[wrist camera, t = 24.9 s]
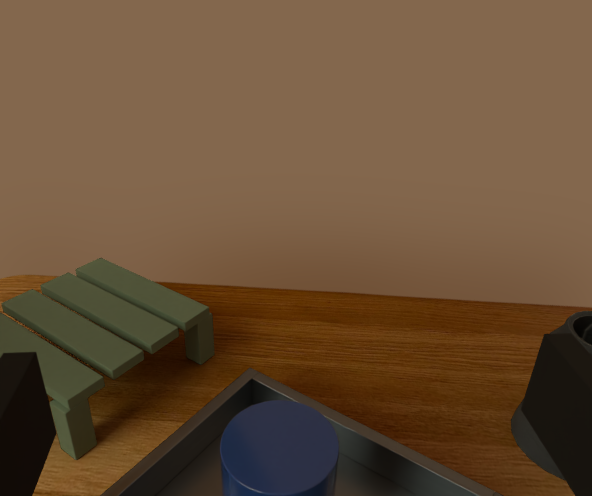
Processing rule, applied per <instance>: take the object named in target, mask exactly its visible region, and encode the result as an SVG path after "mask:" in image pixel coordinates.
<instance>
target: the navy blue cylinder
mask: <svg viewBox="0 0 592 496" xmlns="http://www.w3.org/2000/svg"><path fill="white" fill-rule="evenodd" d="M338 458H339V441H338V437H337V434H336V432H335V429H334V428H333V426H332V424H331V423H330V422H329V421H328V419H327V418H326V417H324V416H323V415H322V414H321V413H320V412H318V411H317V410H315V409H313V408H312V407H309V406H307V405H305V404H302V403H298V402H294V401H287V400H272V401H266V402H261V403H258V404H255V405H252V406H250V407H248V408H246V409H244V410H243V411H241V412H240V413H238V414H237V415H236V416H235V417H234V418H233V419H232V420H231V421H230V422H229V424H228V425H227V426H226V428H225V430H224V432H223V435H222V437H221V442H220V462H221V480H222V496H335V489H336V479H337V468H338Z"/></svg>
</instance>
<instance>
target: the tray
mask: <svg viewBox="0 0 592 496" xmlns="http://www.w3.org/2000/svg"><path fill="white" fill-rule="evenodd" d="M272 400H287V401H294V402H298V403H302V404H305V405H307V406H309V407H312V408H313V409H315V410H317V411H318V412H320V413H321V414H322V415H323V416H324V417H326V418H327V419H328V421H329V422H330V423H331V424H332V426H333V428H334V429H335V432H336V434H337V437H338V441H339V458H338V468H337V479H336V489H335V496H503V495H501V494H499V493H497V492H495V493H494V491H493V490H491V489H489V488H487V487H485V486H483V485H481V484H479V483H477V482H475V481H473V480H471V479H470V478H468V477H466V476H464V475H462V474H460V473H458V472H456V471H454V470H452V469H450V468H448V467H446V466H444V465H442V464H440V463H438V462H436V461H434V460H432V459H430V458H428V457H426V456H424V455H422V454H420V453H418V452H416V451H414V450H412V449H410V448H408V447H406V446H404V445H402V444H400V443H398V442H396V441H394V440H392V439H390V438H388V437H386V436H384V435H382V434H380V433H379V432H377V431H375V430H373V429H371V428H369V427H367V426H365V425H363V424H361V423H359V422H357V421H355V420H353V419H351V418H349V417H347V416H345V415H343V414H341V413H339V412H337V411H335V410H333V409H331V408H329V407H327V406H325V405H323V404H321V403H319V402H317V401H315V400H313V399H311V398H309V397H307V396H305V395H303V394H301V393H299V392H297V391H295V390H293V389H291V388H289V387H288V386H286V385H284V384H282V383H280V382H278V381H276V380H274V379H272V378H270V377H268V376H266V375H264V374H262V373H260V372H258V371H256V370H254V369H252V368H249V369H248V370H247V371H245V372H244V373H243V374H242V375H241V376H240V377H238V378H237V379H236V380H235V381H234V382H233V383H231V384H230V385H229V386H228V387H227V388H225V389H224V390H223V391H222V392H221V393H220V394H218V395H217V396H216V397H215V398H214V399H213V400H211V401H210V402H209V403H208V404H207V405H206V406H204V407H203V408H202V409H201V410H200V411H199V412H197V413H196V414H195V415H194V416H193V417H192V418H190V419H189V420H188V421H187V422H186V423H185V424H183V425H182V426H181V427H180V428H179V429H178V430H176V431H175V432H174V433H173V434H172V435H171V436H169V437H168V438H167V439H166V440H165V441H163V442H162V443H161V444H160V445H159V446H158V447H156V448H155V449H154V450H153V451H152V452H151V453H149V454H148V455H147V456H146V457H145V458H144V459H142V460H141V461H140V462H139V463H138V464H137V465H135V466H134V467H133V468H132V469H131V470H130V471H128V472H127V473H126V474H125V475H124V476H123V477H121V478H120V479H119V480H118V481H117V482H116V483H114V484H113V485H112V486H111V487H110V488H108V489H107V490H106V491H105V492H104V493H103V494H101V495H100V496H222V480H221V462H220V442H221V437H222V435H223V432H224V430H225V428H226V426H227V425H228V424H229V422H230V421H231V420H232V419H233V418H234V417H235V416H236V415H237V414H238V413H240V412H241V411H243V410H244V409H246V408H248V407H250V406H252V405H255V404H258V403H261V402H266V401H272Z"/></svg>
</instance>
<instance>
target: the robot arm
mask: <svg viewBox="0 0 592 496" xmlns="http://www.w3.org/2000/svg"><path fill="white" fill-rule="evenodd" d="M521 411H522V412H523V414H524V415H525V417H526V419H527V420H528V422H529V423H530V425H531V426H532V428H533V430H534V431H535V433H536V434H537V436H538V437H539V439H540V441H541V442H542V444H543V445H544V447H545V448H546V450H547V452H548V453H549V455H550V456H551V458H552V459H553V461H554V463H555V464H556V466H557V467H558V469H559V470H560V472H561V474H562V475H563V477H564V478H565V480H566V481H567V483H568V485H569V486H570V488H571V489H572V491H573V492H574V494H575V496H592V355H591V354H590V353H589V352H588V351H587V350H586V349H585V348H584V347H583V345H582V344H581V343H580V342H579V341H578V340H577V339H576V338H575V337H574V336H573V334H572V333H558V334H544V337H543V340H542V343H541V347H540V350H539V353H538V356H537V359H536V362H535V366H534V369H533V372H532V375H531V378H530V381H529V384H528V388H527V391H526V394H525V397H524V400H523V403H522V407H521ZM55 435H56V429H55V425H54V421H53V417H52V413H51V409H50V405H49V401H48V397H47V393H46V389H45V385H44V381H43V377H42V373H41V369H40V365H39V361H38V357H37V353H36V352H15V353H3V354H2V356H1V357H0V496H32V495H33V492H34V489H35V487H36V484H37V482H38V479H39V477H40V474H41V471H42V469H43V466H44V464H45V461H46V459H47V456H48V453H49V451H50V448H51V446H52V443H53V440H54V438H55Z"/></svg>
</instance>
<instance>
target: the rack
mask: <svg viewBox="0 0 592 496" xmlns="http://www.w3.org/2000/svg"><path fill="white" fill-rule="evenodd" d="M76 274H77V276H75V275H73V274H71V273H66V274H64V275H62V276H60V277H57V278H55V279H53V280H51V281H49V282H46V283H44V284H42V285H40V286H41V290H42V294H44V295H46V296H48V297H49V298H48V297H46V296H44V295H42V294H41V293H39V292H37V291H35V290H33V289H32V290H29V291H27V292H25V293H23V294H21V295H19V296H16V297H14V298H12V299H10V300H8V301H5V302H3V303H2V308H3V311H4V312H5V313H7V314H8V315H10V316H11V317H13V318H15V319H16V320H18V321H19V322H21V323H23V324H24V325H26V326H27V327H29V328H31V329H32V330H34V331H36V332H37V333H39V334H40V335H42V336H44V337H45V338H47V339H48V340H50V341H52V342H53V343H55V344H56V345H58V346H60V347H61V348H63V349H65V350H66V351H68V352H69V353H71V354H73V355H74V356H76V357H77V358H79V359H81V360H82V361H84V362H85V363H87V364H89V365H90V366H92V367H94V368H95V369H97V370H98V371H100V372H102V373H103V374H105V375H106V376H108V377H110V378H111V379H113V380H115V379H116V378H118V377H119V376H120V375H122V374H123V373H125V372H126V371H128V370H129V369H131V368H132V367H134V366H135V365H137V364H138V363H140V362H141V361H143V360H144V354H143V350H145V351H147V352H149V353H150V354H153V353H155V352H156V351H158V350H159V349H161V348H162V347H164V346H165V345H167V344H168V343H170V342H171V341H172V340H174V339H175V338H177V337H178V336H179V331H178V328H180V329H182V330H184V335H185V346H186V357H187V358H189V359H191V360H193V361H195V362H196V363H198V364H200V365H201V364H203V363H204V362H205V361H207V360H208V359H209V358H211V357H212V356H213V355H214V336H213V318H212V313H209V307H208V306H205V305H203V304H201V303H199V302H197V301H194V300H192V299H190V298H188V297H186V296H183V295H181V294H179V293H177V292H175V291H173V290H170V289H168V288H166V287H164V286H162V285H159V284H157V283H155V282H153V281H151V280H148V279H146V278H144V277H142V276H140V275H137V274H135V273H133V272H131V271H129V270H126V269H124V268H122V267H120V266H118V265H115V264H113V263H111V262H109V261H107V260H105V259H102V258H99V259H97V260H95V261H93V262H90V263H88V264H86V265H84V266H82V267H79V268H77V269H76ZM50 298H51V299H53V300H55V301H57V302H58V303H60V304H62V305H64V306H66V307H67V308H69V309H71V310H73V311H75V312H77V313H78V314H80V315H82V316H84V317H86V318H87V319H89V320H91V321H93V322H95V323H96V324H98V325H100V326H102V327H104V328H105V329H107V330H109V331H111V332H113V333H114V334H116V335H118V336H120V337H122V338H123V339H125V340H127V341H129V342H131V343H132V344H134V345H136V346H138V347H140V348H141V349H143V350H141V349H139V348H138V347H136V346H134V345H132V344H130V343H129V342H127V341H125V340H123V339H121V338H120V337H118V336H116V335H114V334H112V333H111V332H109V331H107V330H105V329H103V328H102V327H100V326H98V325H96V324H94V323H93V322H91V321H89V320H87V319H85V318H84V317H82V316H80V315H78V314H76V313H75V312H73V311H71V310H69V309H67V308H66V307H64V306H62V305H60V304H58V303H57V302H55V301H53V300H51V299H50ZM15 352H36V353H37V357H38V361H39V365H40V369H41V373H42V377H43V381H44V385H45V389H46V393H47V394H48V395H49V396H51V397H52V398H53V399H54V400H52V401H51V402H50V407H51V410H52V414H53V418H54V422H55V426H56V430H57V434H58V438H59V442H60V446H61V449H62V450H64V451H65V452H66V453H68V454H69V455H70V456H71V457H73V458H74V459H75V460H77V459H78V458H80V457H81V456H82V455H84V454H85V453H86V452H88V451H89V450H90V449H91V448H93V447H94V446H95V445H97V441H96V436H95V432H94V427H93V422H92V417H91V412H90V408H89V403H88V397H90V396H91V395H93V394H94V393H96V392H97V391H98V390H100V389H101V388H103V387H104V386H105V384H104V378H103V376H101V375H100V374H98V373H96V372H95V371H93V370H92V369H90V368H88V367H87V366H85V365H84V364H82V363H80V362H79V361H77V360H76V359H74V358H72V357H71V356H69V355H68V354H66V353H64V352H63V351H61V350H60V349H58V348H56V347H55V346H53V345H52V344H50V343H48V342H47V341H45V340H44V339H42V338H40V337H39V336H37V335H36V334H34V333H32V332H31V331H29V330H28V329H26V328H24V327H23V326H21V325H20V324H18V323H16V322H15V321H13V320H12V319H10V318H8V317H7V316H5V315H4V314H2V313H0V357H1V356H2V354H3V353H15Z"/></svg>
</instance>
